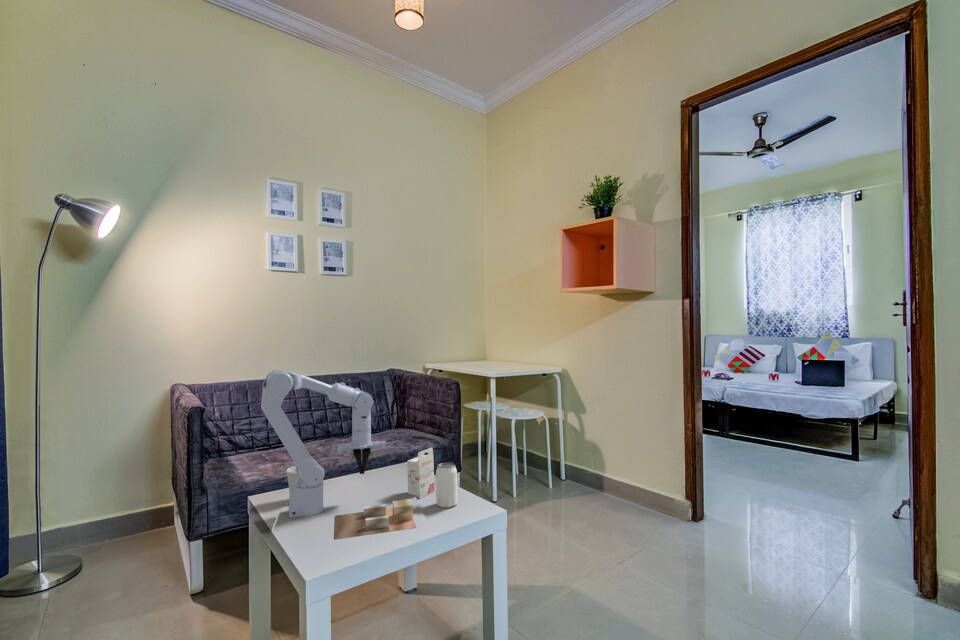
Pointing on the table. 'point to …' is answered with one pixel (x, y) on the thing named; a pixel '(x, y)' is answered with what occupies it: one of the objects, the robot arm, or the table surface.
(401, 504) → the maple block
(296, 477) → the dixie cup
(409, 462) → the ink cartridge box
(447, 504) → the can
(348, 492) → the table surface
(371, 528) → the board
